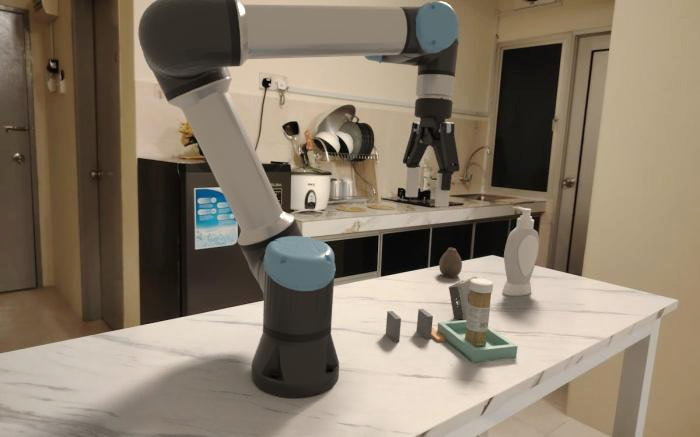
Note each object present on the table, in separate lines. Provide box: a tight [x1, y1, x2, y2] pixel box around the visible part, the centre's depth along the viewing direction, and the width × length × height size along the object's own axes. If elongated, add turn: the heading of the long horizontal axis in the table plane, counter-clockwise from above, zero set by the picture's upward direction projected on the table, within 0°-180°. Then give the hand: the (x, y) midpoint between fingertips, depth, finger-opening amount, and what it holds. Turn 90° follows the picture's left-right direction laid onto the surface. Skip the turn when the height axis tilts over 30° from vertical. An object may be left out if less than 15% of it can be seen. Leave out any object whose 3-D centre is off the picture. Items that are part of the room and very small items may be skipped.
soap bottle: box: [501, 206, 540, 297], centre depth 135 cm, size 13×8×24 cm, turn 117°
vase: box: [438, 247, 463, 278], centre depth 148 cm, size 7×7×9 cm
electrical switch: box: [448, 276, 478, 320], centre depth 115 cm, size 9×5×9 cm, turn 141°
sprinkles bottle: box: [464, 277, 494, 347], centre depth 98 cm, size 5×5×14 cm
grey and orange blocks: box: [385, 308, 447, 343], centre depth 102 cm, size 11×8×5 cm
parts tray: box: [436, 319, 518, 364], centre depth 99 cm, size 10×14×2 cm
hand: (425, 201), depth 101 cm, fingers open, 13 cm apart
